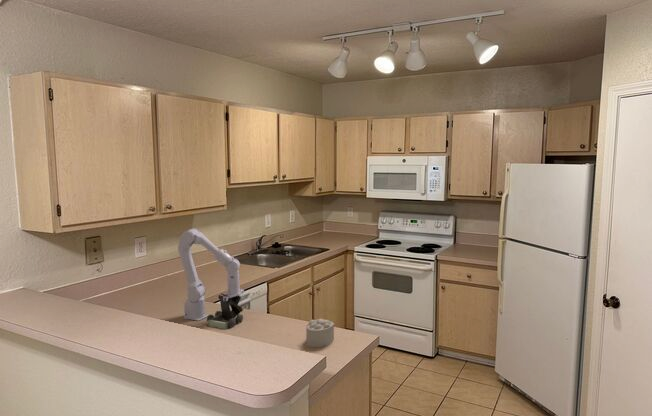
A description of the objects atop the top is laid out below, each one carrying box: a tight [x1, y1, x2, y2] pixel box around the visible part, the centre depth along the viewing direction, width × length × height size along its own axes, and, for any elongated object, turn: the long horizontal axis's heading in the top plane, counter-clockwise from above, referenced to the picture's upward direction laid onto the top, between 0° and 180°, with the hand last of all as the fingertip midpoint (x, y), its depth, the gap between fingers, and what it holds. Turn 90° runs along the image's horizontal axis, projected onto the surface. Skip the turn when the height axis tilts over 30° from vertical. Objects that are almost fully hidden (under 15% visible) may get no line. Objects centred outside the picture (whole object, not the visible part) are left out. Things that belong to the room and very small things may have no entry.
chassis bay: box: [206, 310, 244, 330], centre depth 207 cm, size 14×12×4 cm
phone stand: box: [218, 293, 244, 322], centre depth 211 cm, size 9×6×12 cm, turn 136°
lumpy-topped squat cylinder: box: [305, 318, 335, 348], centre depth 186 cm, size 10×13×9 cm
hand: (234, 311), depth 214 cm, fingers closed
